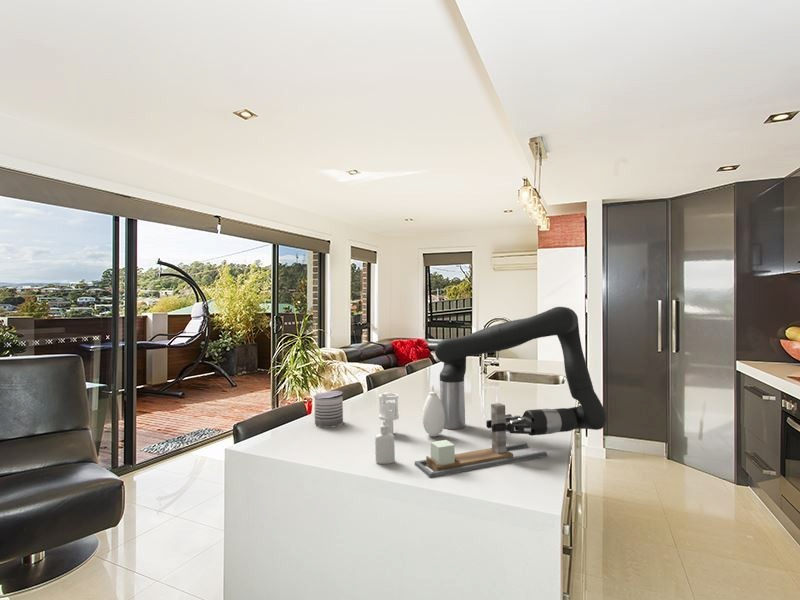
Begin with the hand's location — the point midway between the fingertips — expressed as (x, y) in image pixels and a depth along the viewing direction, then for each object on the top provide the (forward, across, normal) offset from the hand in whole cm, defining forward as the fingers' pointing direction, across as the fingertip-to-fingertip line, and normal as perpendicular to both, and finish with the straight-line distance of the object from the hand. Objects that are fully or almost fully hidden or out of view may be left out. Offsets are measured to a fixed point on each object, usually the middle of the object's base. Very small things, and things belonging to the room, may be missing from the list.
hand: (489, 426), depth 128 cm
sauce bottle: (+10, -25, +10) cm, 29 cm away
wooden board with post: (+7, +2, +10) cm, 12 cm away
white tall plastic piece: (+25, -33, +10) cm, 42 cm away
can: (+45, -52, +10) cm, 70 cm away
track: (+3, +1, +10) cm, 10 cm away
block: (+16, +3, +8) cm, 18 cm away
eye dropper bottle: (+31, -5, +10) cm, 33 cm away
